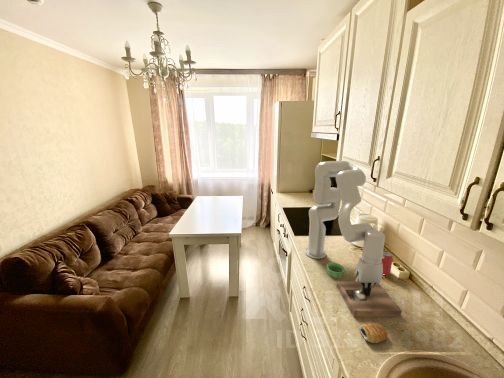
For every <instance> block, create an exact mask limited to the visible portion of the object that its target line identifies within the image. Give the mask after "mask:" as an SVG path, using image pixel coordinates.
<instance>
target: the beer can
mask: <svg viewBox="0 0 504 378" xmlns="http://www.w3.org/2000/svg"><path fill="white" fill-rule="evenodd" d="M383 256H384V259H382V264H383V274H385V275H386V276H385V277H387V276H390V275H391V271H392V265H393V260H394V259H393V253H391V252H389V251H387V250H383Z"/></svg>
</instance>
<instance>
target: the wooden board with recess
mask: <svg viewBox="0 0 504 378" xmlns="http://www.w3.org/2000/svg"><path fill="white" fill-rule="evenodd" d="M336 288H337V290H338V292H339V293H340V296H341V297H342V299H343V301H344V303H345V304H346V306H347V308H348V309H349V312H350V314H351V315H352V317H353V318H356V317H357V318H358V317H361V318H362V317H363V318H364V317H365V318H368V317H371V318H372V317H373V318H375V317H401V316H402V312H403V310H402V309H401V308H400V307H399V305H398V304H397V303H396V302H395V301H394V300H393V298H392V297H391V296H390V295H389V294H388V292H387V291H386V290H385V289H384V287H382V285H381V284H380V283H378V284H375V285H374V286H373V288H371V293H370V296H365V299H366V300H365V301H355V300H352V299H351V298H350V296H351V295H353V292H354V291H355V290H362V288H363V285H362V284H358V283H356V281H336ZM349 295H350V296H349ZM364 295H365V294H364ZM353 296H354V295H353Z"/></svg>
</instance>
